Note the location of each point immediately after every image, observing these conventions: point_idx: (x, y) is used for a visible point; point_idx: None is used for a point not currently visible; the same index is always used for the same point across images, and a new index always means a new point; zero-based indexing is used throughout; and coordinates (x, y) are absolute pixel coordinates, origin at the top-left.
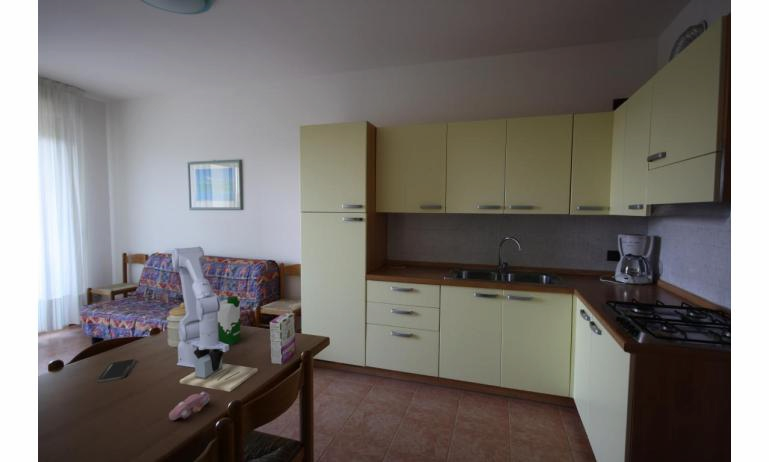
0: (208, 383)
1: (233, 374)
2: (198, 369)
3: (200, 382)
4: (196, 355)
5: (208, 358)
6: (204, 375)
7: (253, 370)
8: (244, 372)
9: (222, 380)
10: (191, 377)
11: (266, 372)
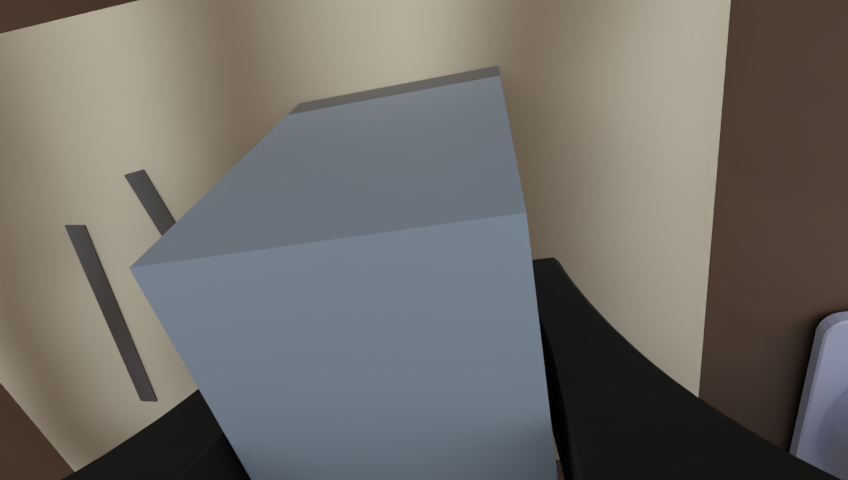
0: (136, 48)
1: (141, 344)
2: (403, 135)
3: (274, 5)
4: (729, 445)
5: (295, 441)
6: (286, 125)
7: (71, 455)
8: (96, 407)
9: (78, 198)
10: (594, 54)
11: (23, 467)
